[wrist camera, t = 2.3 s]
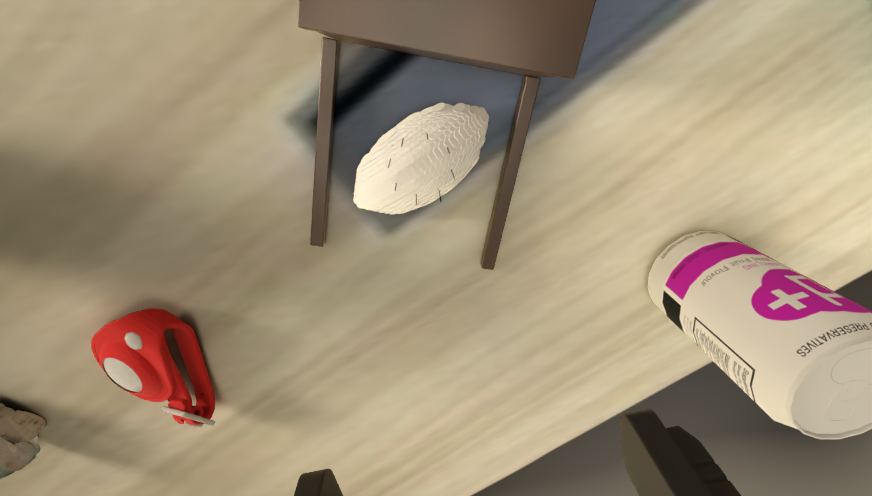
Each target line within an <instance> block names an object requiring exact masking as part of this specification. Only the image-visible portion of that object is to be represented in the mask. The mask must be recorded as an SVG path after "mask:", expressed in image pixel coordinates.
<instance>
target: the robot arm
mask: <svg viewBox="0 0 872 496" xmlns="http://www.w3.org/2000/svg"><path fill="white" fill-rule="evenodd" d="M620 419H621V442H622V455H623V460H624V464H625V467H626V470H627V472H628V475H629V477H630V479H631V481H632V483H633V485H634V487H635V489H636V491H637V492H638V494H639V496H741V495H740V494H739V492H738V491H737V490H736V488H735V487H734V486H733V484H732V483H731V482H730V481H728V480H727V478H726V475H725V474H724V473H723V471H722V470H721V469H720V467H719V466H718V465H717V464H715V462H714V460H713V458H712V457H711V456H710V455H709V453H708V452H707V450H706V449H705V448H704V446H703V445H702V444H701V443H700V441H699V440H697V439H696V438H695V437H693V436H692V435H690V434H689V433H688V432H686V431H685V430H684V429H682V428H681V427H679V426H675V427H670V428H665V427H664V425H663V424H662V422H661V421H660V419H659V418H658V416H657V415H656V414H655V412H654V411H653V410H651V409H644V410H638V411H633V412H628V413H623V414H621V417H620ZM294 496H343V494H342V492H341V490H340V488H339V485H338V483H337V481H336V479H335V476H334V474H333V472H332V470H331V469H324V470H319V471H314V472H309V473H304V474H302V475H301V476H300V478H299V480H298V484H297V487H296V491H295V494H294Z"/></svg>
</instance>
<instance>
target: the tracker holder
mask: <svg viewBox="0 0 872 496" xmlns="http://www.w3.org/2000/svg"><path fill="white" fill-rule="evenodd" d="M169 328H172V331H173V333H174V336H175V339H176V341H177V344H178V347H179V349H180V352H181V355H182V358H183V360H184V363H185V366H186V368H187V371H188V374H189V377H190V379H191V382H192V384H193V387H194V391H195V395H196V399H197V403H196V406H192V399H191V396H190V394H189V392H188V389H187V387H186V385H185V383H184V381H183V379H182V377H181V375H180V373H179V371H178V369H177V367H176V365H175V363H174V361H173V359H172V357H171V355H170V353H169V350H168V346H167V343H166V339H165V333H164V332H165V330H166V329H169ZM91 347H92V351H93V354H94V356H95V358H96V360H97V362H98V363H99V365H100V366H101V368H102V369H103V370H104V372H105V373H106V375H107V376H108V377H109V378H110V379H111V380H112V381H113V382H114V383H115V384H116V385H117V386H119V387H120V388H122V389H123V390H125V391H127V392H129V393H131V394H133V395H135V396H137V397H139V398H141V399H144V400H148V401H152V402H162V401H165V400H167V399H168V401H169V404H168V406H169V407H170V408H169V407H165V406H164V407H162V409H161V411H163V412H166V413H170V414H172V415H173V418H174V419H175V420H176V421H177V422H178V423H180V424H186V425H188V426H192V427H202V424H204V423H205V424H208V425H214V423H215V421H213V420H210V418H211V417H212V415H213V412H214V410H215V397H214V393H213V389H212V385H211V382H210V379H209V375H208V372H207V369H206V366H205V363H204V360H203V357H202V353H201V350H200V347H199V344H198V341H197V338H196V335H195V332H194V331H193V329H192V328H191V327H190V326H189V325H188V324H186V323H185V322H183V321H182V320H180V319H178V318H177V317H175V316H174V315H172V314H171V313H169V312H168V311H166V310H162V309H146V310H141V311H137V312H134V313H131V314H128V315H126V316H124V317H122V318H120V319H118V320H114V321H112V322H110V323H108V324H107V325H105V326H104V327H103V328H101V329H100V330H99V331H98V332H97V333H96V334H95V335H94V337H93V338H92V341H91Z"/></svg>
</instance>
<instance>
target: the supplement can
mask: <svg viewBox="0 0 872 496" xmlns="http://www.w3.org/2000/svg"><path fill="white" fill-rule="evenodd" d="M648 291H649V294H650V297H651V300H652V302H653V303H654V304H655V305H656V306H657V307H659V308H660V309H661V310H662V311H663V312H664V313H665V314H666V315H667V316H668V317H669V318H670V319H671V320H672V321H673V322H674V323H675V324H676V325H677V326H678V327H679V328H680V329H681V330H682V331H683V332H684V333H685V334H686V335H687V336H688V337H689V338H690V339H691V340H692V341H693V342H694V343H695V344H696V345H697V346H698V347H699V348H700V349H701V350H702V351H703V352H704V353H705V354H707V355H708V356H709V357H710V358H711V359H712V360H713V361H714V362H715V363H716V364H717V365H718V366H719V367H720V368H721V369H722V370H723V371H724V372H725V373H726V374H727V375H728V376H729V377H730V378H731V379H732V380H733V381H734V382H735V383H736V384H737V385H738V386H739V387H740V388H741V389H742V390H743V391H744V392H745V393H746V394H747V395H748V396H749V397H750V398H751V399H753V400H754V401H755V402H756V403H757V404H758V405H759V406H760V407H761V408H762V409H763V410H764V411H765V412H766V413H767V414H768V415H769V416H770V417H771V418H772V419H773V420H774V421H777V422H780V423H783V424H785V425H788V426H791V427H793V428H796V429H799V430H800V431H801V432H802V433H803V434H806V435H809V436H811V437H814V438H818V439H842V438H846V437H850V436H853V435H858V434H861V433H864V432H866V431H868V430H870V429H872V311H870V310H868V309H866V308H864V307H862V306H860V305H859V304H857V303H855V302H853V301H851V300H849V299H847V298H845V297H844V296H842V295H840V294H838V293H836V292H834V291H832V290H830V289H828V288H827V287H825V286H823V285H821V284H819V283H817V282H815V281H813V280H811V279H810V278H808V277H806V276H804V275H802V274H800V273H798V272H796V271H794V270H793V269H791V268H789V267H787V266H785V265H783V264H781V263H779V262H777V261H776V260H774V259H772V258H770V257H768V256H766V255H764V254H762V253H760V252H759V251H757V250H755V249H753V248H751V247H749V246H747V245H745V244H743V243H742V242H740V241H738V240H736V239H734V238H732V237H730V236H728V235H725V234H723V233H721V232H718V231H698V232H695V233H692V234H688V235H685V236H683V237H681V238H679V239H678V240H676V241H675V242H673V243H671V244H670V245H668V246H667V247H666V248H665V249H664V251H663V252H662V253H661V254H660V255H659V256H658V257H657V258H656V260H655V262H654V264H653V266H652V268H651V270H650V273H649V278H648Z"/></svg>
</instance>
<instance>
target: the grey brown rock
mask: <svg viewBox="0 0 872 496" xmlns="http://www.w3.org/2000/svg"><path fill="white" fill-rule="evenodd" d="M45 425H46V422H45V420H44V419H43V418H42V417H40V416H38V415H35V414H33V413H29V412H26V411H20V410H16V411H14V410H13V409H11V408H8V407H5V405H4V404H3V403H0V479H1V478H3V477H6V476H8V475H10V474H12V473H13V472H15V471H18V470H21V469H23V468H24V467H25V466H26V465H28V464H29V463H30V462H31V461H32V460H33V459H34V458H35V456H36V454H37V453H38V452H39V451H40V446H39V442H38V433H39V431H40V429H41V428H44V427H45Z"/></svg>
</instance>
